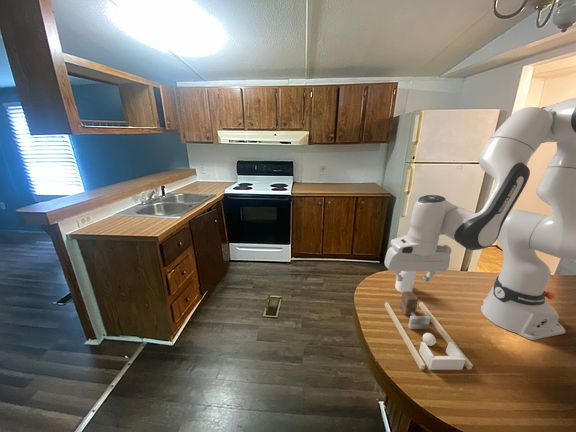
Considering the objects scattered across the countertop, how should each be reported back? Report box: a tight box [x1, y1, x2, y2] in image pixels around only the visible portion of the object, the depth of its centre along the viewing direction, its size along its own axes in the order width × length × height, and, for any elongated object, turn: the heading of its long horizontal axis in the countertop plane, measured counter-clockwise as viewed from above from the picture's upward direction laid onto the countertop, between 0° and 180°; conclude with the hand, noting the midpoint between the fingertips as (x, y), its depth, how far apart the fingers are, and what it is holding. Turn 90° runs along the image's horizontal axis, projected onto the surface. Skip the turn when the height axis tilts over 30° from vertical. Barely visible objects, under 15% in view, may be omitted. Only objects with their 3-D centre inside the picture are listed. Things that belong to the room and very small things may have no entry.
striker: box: [399, 291, 431, 330], centre depth 80 cm, size 6×10×7 cm, turn 0°
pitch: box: [384, 301, 474, 371], centre depth 75 cm, size 14×25×3 cm, turn 0°
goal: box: [418, 341, 466, 371], centre depth 65 cm, size 9×6×4 cm, turn 90°
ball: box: [422, 332, 437, 346], centre depth 70 cm, size 4×4×4 cm
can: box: [394, 271, 417, 294], centre depth 94 cm, size 6×6×12 cm
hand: (412, 280), depth 79 cm, fingers open, 8 cm apart
